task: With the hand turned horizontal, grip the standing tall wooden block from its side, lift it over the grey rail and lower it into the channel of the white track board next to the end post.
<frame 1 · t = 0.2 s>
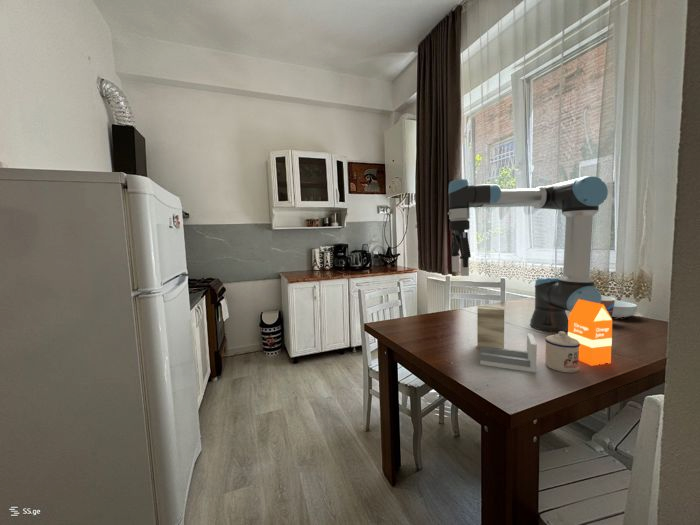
hand: (460, 273, 117), 28 cm above the table, tool pointing down, fingers open, 13 cm apart
tall wooden block: (490, 348, 112), on the table
cereal bowl: (613, 316, 147), on the table
coffee cup: (600, 323, 138), on the table
track: (506, 361, 100), on the table
orange juice: (588, 359, 100), on the table
teacup with lid: (564, 366, 95), on the table
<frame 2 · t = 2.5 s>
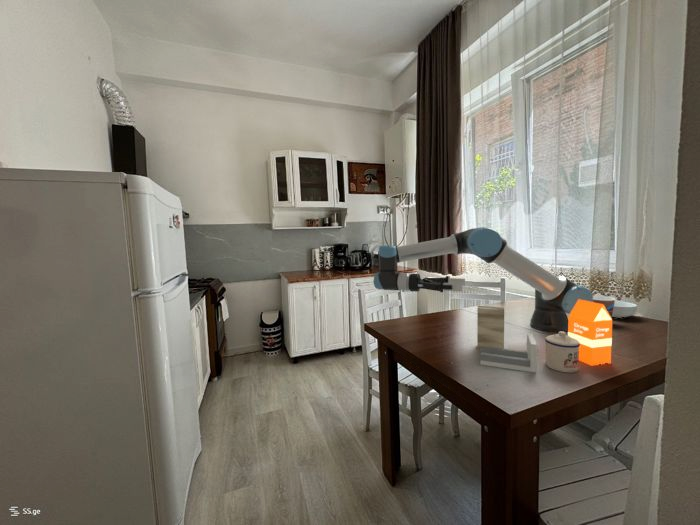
hand: (463, 284, 114), 24 cm above the table, tool horizontal, fingers open, 13 cm apart
nothing on the table moved.
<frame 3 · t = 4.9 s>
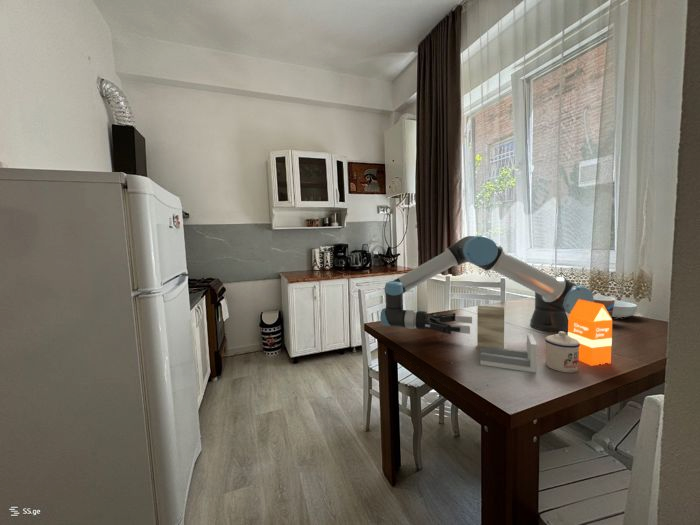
hand: (471, 324, 114), 9 cm above the table, tool horizontal, fingers open, 13 cm apart
nothing on the table moved.
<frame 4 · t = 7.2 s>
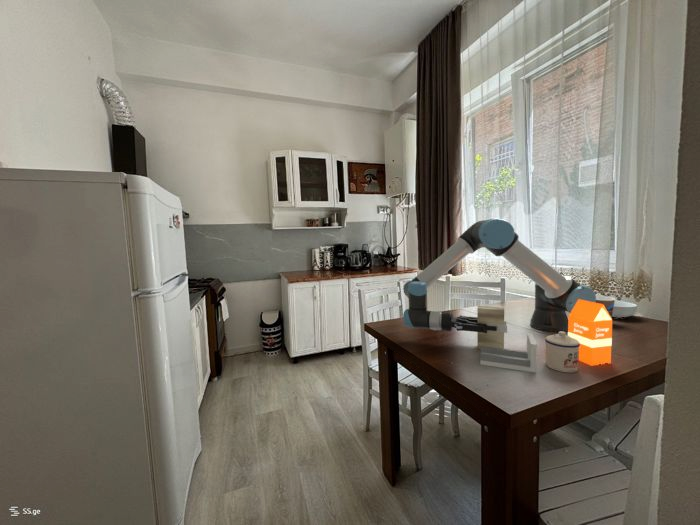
hand: (506, 326, 109), 9 cm above the table, tool horizontal, fingers closed on tall wooden block, 4 cm apart
tall wooden block: (490, 348, 112), on the table, touching gripper
everything else where it was.
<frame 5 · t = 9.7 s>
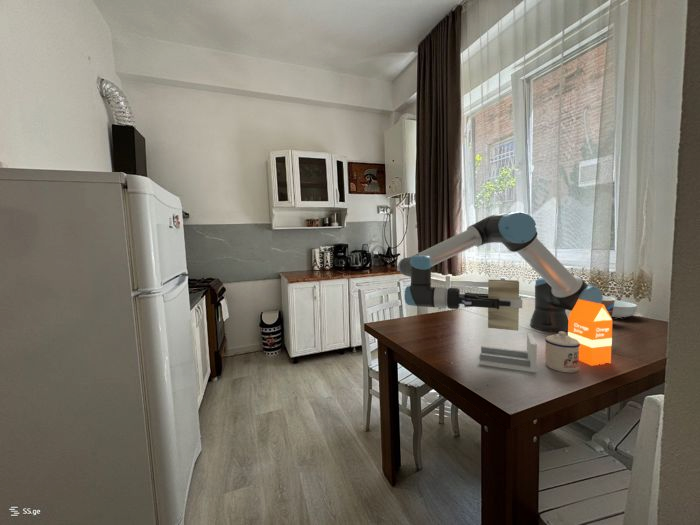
hand: (521, 302, 96), 21 cm above the table, tool horizontal, fingers closed on tall wooden block, 4 cm apart
tall wooden block: (502, 327, 99), point 12 cm above the table, touching gripper
everything else where it was.
when the fingers open (11 cm above the table, at t = 12.1 s): tall wooden block drops 1 cm, resting on track.
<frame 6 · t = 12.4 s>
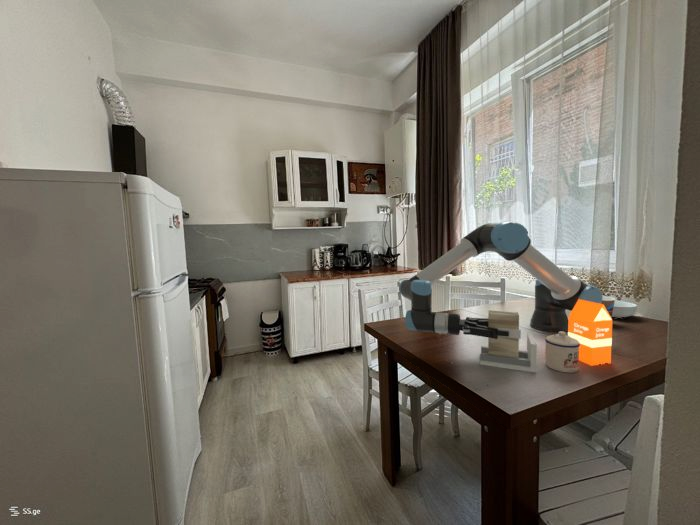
hand: (519, 330, 97), 11 cm above the table, tool horizontal, fingers open, 8 cm apart
tall wooden block: (502, 358, 100), point 1 cm above the table, touching track
everything else where it was.
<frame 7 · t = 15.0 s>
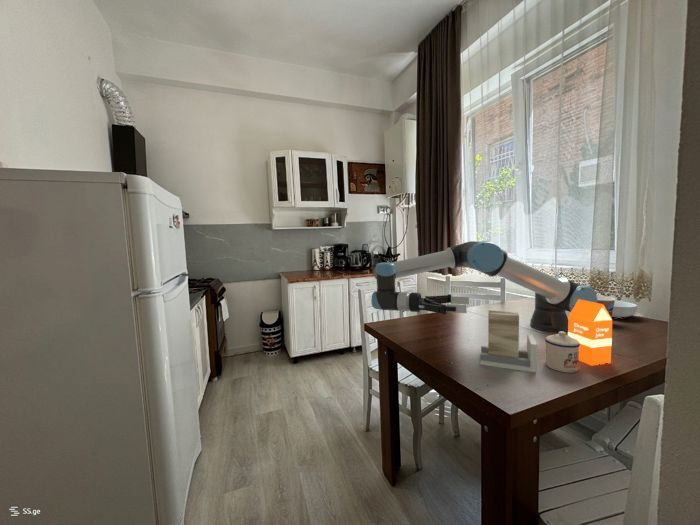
hand: (467, 304, 106), 18 cm above the table, tool horizontal, fingers open, 13 cm apart
nothing on the table moved.
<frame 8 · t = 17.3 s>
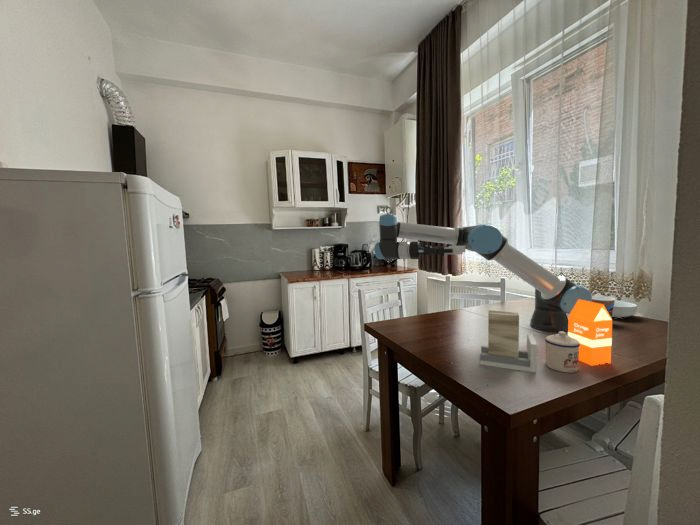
hand: (464, 249, 114), 38 cm above the table, tool horizontal, fingers open, 13 cm apart
nothing on the table moved.
at the end: tall wooden block inside the target area on the track (0.0 cm from its centre), point 1.0 cm above the track's base; tall wooden block tilted 0°; the gripper is holding nothing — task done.
